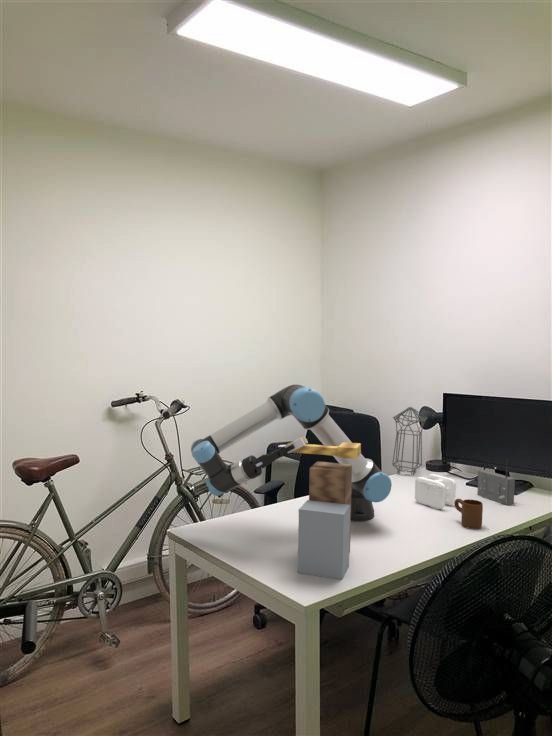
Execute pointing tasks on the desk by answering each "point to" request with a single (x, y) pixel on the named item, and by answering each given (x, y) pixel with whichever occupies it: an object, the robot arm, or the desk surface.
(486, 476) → the electronic device
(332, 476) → the walnut post
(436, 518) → the desk surface
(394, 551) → the desk surface
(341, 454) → the handle bar
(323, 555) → the grey stand
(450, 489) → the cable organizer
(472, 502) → the mug
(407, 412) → the geometric lantern
